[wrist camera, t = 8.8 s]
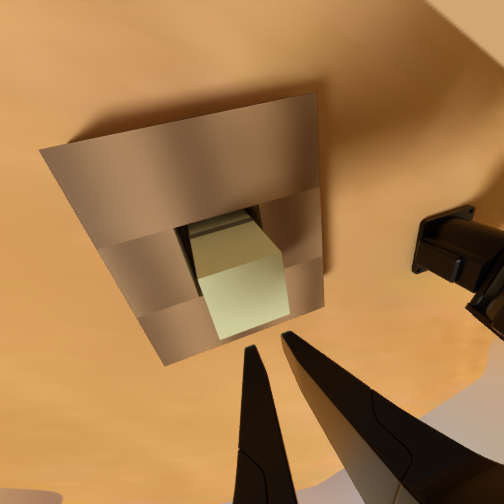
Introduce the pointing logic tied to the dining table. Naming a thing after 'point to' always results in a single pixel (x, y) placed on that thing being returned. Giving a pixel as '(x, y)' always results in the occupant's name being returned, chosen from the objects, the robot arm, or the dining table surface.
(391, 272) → the dining table surface
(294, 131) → the board
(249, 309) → the peg
